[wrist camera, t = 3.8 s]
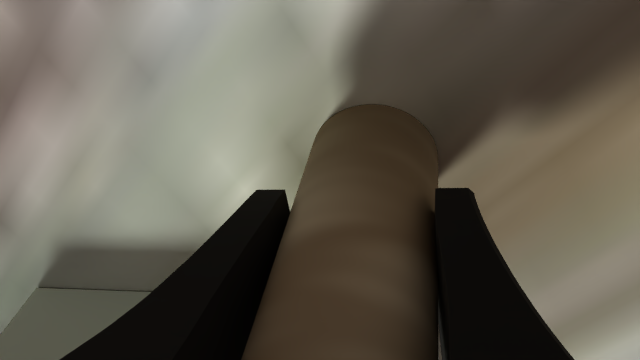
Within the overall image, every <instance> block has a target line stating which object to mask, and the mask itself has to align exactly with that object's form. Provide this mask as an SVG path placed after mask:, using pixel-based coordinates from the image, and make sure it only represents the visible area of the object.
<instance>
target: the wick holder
mask: <svg viewBox="0 0 640 360" xmlns="http://www.w3.org/2000/svg"><path fill="white" fill-rule="evenodd" d="M150 293H151V292H134V291H107V290H80V289H53V288H36V289H35V291H34V292H33V293H32V295H31V296H30V297H29V298H28V300H27V301H26V302H25V304H24V305H23V306H22V307H21V309H20V310H19V311H18V313H17V314H16V315H15V317H14V318H13V319H12V320H11V322H10V323H9V324H8V326H7V327H6V328H5V329H4V331H3V332H2V333H1V335H0V360H59V359H61V358H62V357H64V356H65V355H67V354H68V353H70V352H71V351H73V350H74V349H76V348H77V347H79V346H80V345H82V344H83V343H85V342H86V341H88V340H89V339H91V338H92V337H94V336H95V335H97V334H98V333H99V332H101V331H102V330H104V329H105V328H106V327H108V326H109V325H111V324H112V323H113V322H115V321H116V320H117V319H118V318H120V317H121V316H122V315H124V314H125V313H126V312H128V311H129V310H130V309H131V308H133V307H134V306H135V305H137V304H138V303H139V302H140V301H141V300H143V299H144V298H145V297H146V296H148V295H149V294H150Z"/></svg>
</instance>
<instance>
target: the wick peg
mask: <svg viewBox="0 0 640 360" xmlns="http://www.w3.org/2000/svg"><path fill="white" fill-rule="evenodd" d="M435 188H438V153H437V148H436V145H435V142H434V140H433V138H432V136H431V135H430V133H429V131H428V130H427V129H426V128H425V127H424V125H422V124H421V123H420V122H419V121H418V120H417V119H415V118H414V117H412V116H411V115H409V114H407V113H406V112H404V111H401V110H399V109H396V108H393V107H389V106H384V105H371V104H368V105H359V106H355V107H351V108H348V109H345V110H343V111H341V112H339V113H337V114H335V115H334V116H332V117H331V118H330V119H328V120H327V121H326V122H325V123H324V124H323V126H322V127H321V128H320V130H319V131H318V133H317V135H316V137H315V140H314V143H313V146H312V149H311V152H310V155H309V158H308V161H307V164H306V167H305V170H304V173H303V176H302V179H301V182H300V185H299V188H298V191H297V194H296V197H295V200H294V203H293V206H292V209H291V212H290V215H289V218H288V221H287V224H286V227H285V230H284V233H283V236H282V239H281V242H280V245H279V248H278V251H277V254H276V257H275V260H274V263H273V266H272V269H271V272H270V275H269V278H268V281H267V284H266V287H265V290H264V293H263V296H262V299H261V302H260V305H259V308H258V311H257V314H256V317H255V320H254V323H253V326H252V329H251V332H250V335H249V338H248V341H247V344H246V347H245V350H244V353H243V356H242V359H241V360H438V272H437V260H436V243H435Z"/></svg>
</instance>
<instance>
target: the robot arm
mask: <svg viewBox="0 0 640 360" xmlns="http://www.w3.org/2000/svg"><path fill="white" fill-rule="evenodd" d="M289 215H290V210H289V206H288V201H287V197H286V192H285V190H256V191H255V192H254V193H253V194H252V195H251V196H250V197H249V198H248V199H247V200H246V201H245V202H244V203H243V204H242V205H241V206H240V207H239V208H238V209H237V211H236V212H235V213H234V214H233V215H232V216H231V217H230V218H229V219H228V220H227V221H226V222H225V223H224V224H223V225H222V226H221V227H220V228H219V229H218V230H217V231H216V232H215V233H214V234H213V235H212V236H211V237H210V238H209V239H208V240H207V241H206V242H205V243H204V244H203V245H202V246H201V247H200V248H199V249H198V250H197V251H196V252H195V253H194V254H193V255H192V256H191V257H190V258H189V259H188V260H187V261H186V262H184V263H183V264H182V265H181V266H180V267H179V268H178V269H177V270H176V271H175V272H173V273H172V274H171V275H170V276H169V277H168V278H167V279H166V280H165V281H164V282H162V283H161V284H160V285H159V286H158V287H157V288H156V289H155V290H153V291H152V292H151V293H150V294H149V295H148V296H146V297H145V298H144V299H143V300H141V301H140V302H139V303H138V304H137V305H135V306H134V307H133V308H131V309H130V310H129V311H128V312H126V313H125V314H124V315H122V316H121V317H120V318H118V319H117V320H116V321H115V322H113V323H112V324H111V325H109V326H108V327H106V328H105V329H104V330H102V331H101V332H99V333H98V334H97V335H95V336H94V337H92V338H91V339H89V340H88V341H86V342H85V343H83V344H82V345H80V346H79V347H77V348H76V349H74V350H73V351H71V352H70V353H68V354H67V355H65V356H64V357H62V358H61V359H59V360H241V359H242V356H243V353H244V350H245V347H246V344H247V341H248V338H249V335H250V332H251V329H252V326H253V323H254V320H255V317H256V314H257V311H258V308H259V305H260V302H261V299H262V296H263V293H264V290H265V287H266V284H267V281H268V278H269V275H270V272H271V269H272V266H273V263H274V260H275V257H276V254H277V251H278V248H279V245H280V242H281V239H282V236H283V233H284V230H285V227H286V224H287V221H288V218H289ZM435 243H436V260H437V272H438V324H439V333H440V343H441V353H442V360H574V359H573V357H572V356H571V355H570V354H569V353H568V351H567V350H566V349H565V347H564V346H563V345H562V344H561V342H560V341H559V340H558V339H557V337H556V336H555V335H554V334H553V332H552V331H551V330H550V328H549V327H548V326H547V324H546V323H545V322H544V320H543V319H542V317H541V316H540V315H539V313H538V312H537V310H536V309H535V308H534V306H533V305H532V303H531V302H530V300H529V299H528V297H527V296H526V294H525V293H524V291H523V290H522V288H521V287H520V285H519V284H518V282H517V280H516V279H515V277H514V276H513V274H512V272H511V271H510V269H509V267H508V265H507V264H506V262H505V260H504V259H503V257H502V255H501V253H500V252H499V250H498V248H497V246H496V244H495V243H494V241H493V239H492V237H491V235H490V233H489V231H488V229H487V226H486V224H485V222H484V220H483V218H482V215H481V213H480V210H479V208H478V205H477V202H476V199H475V196H474V193H473V192H472V191H471V190H470V189H469V188H435Z"/></svg>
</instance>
